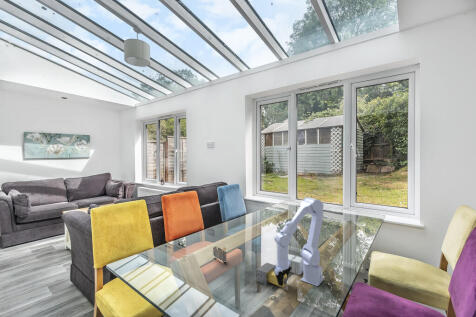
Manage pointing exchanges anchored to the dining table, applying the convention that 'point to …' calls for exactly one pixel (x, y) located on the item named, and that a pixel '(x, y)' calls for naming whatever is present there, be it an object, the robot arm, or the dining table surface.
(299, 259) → the supplement box
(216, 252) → the ruin model on sheet
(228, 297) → the dining table surface
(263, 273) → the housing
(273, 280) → the end cover
